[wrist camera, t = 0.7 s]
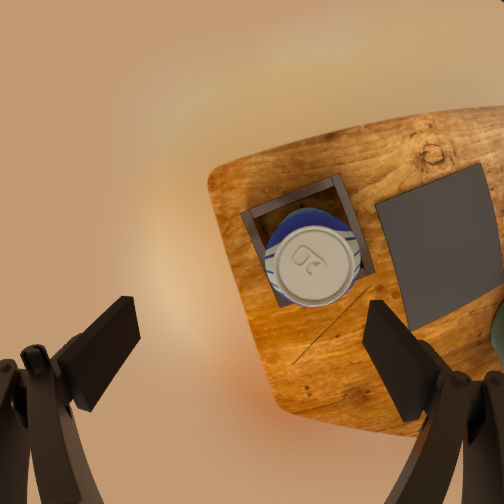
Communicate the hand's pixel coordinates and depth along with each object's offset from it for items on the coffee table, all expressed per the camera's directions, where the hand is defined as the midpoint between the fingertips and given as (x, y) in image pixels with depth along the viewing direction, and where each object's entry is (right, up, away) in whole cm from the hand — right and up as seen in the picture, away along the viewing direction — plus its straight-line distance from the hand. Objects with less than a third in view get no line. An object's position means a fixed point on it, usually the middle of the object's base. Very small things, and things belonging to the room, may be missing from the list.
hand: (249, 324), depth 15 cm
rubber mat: (+29, +5, +19) cm, 35 cm away
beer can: (+8, +6, +23) cm, 25 cm away
